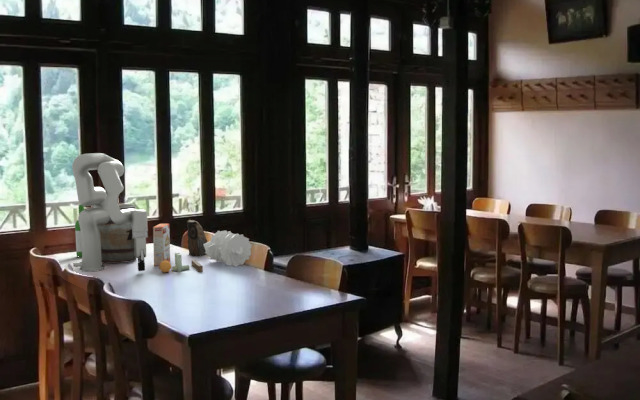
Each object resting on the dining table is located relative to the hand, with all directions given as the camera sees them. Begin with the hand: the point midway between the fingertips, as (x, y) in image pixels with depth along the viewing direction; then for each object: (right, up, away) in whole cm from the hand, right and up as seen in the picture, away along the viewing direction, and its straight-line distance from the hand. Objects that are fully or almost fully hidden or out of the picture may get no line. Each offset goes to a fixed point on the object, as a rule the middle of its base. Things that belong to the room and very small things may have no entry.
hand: (141, 270), depth 346 cm
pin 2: (+18, -1, +5) cm, 19 cm away
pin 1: (+16, 0, +9) cm, 19 cm away
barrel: (-23, +2, +33) cm, 40 cm away
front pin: (+14, 0, +6) cm, 15 cm away
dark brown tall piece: (+20, +4, +51) cm, 55 cm away
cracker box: (+5, +1, +26) cm, 26 cm away
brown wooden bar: (+26, 0, +11) cm, 28 cm away
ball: (+11, +2, +2) cm, 12 cm away
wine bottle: (-46, +3, +48) cm, 67 cm away
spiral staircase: (+41, +1, +22) cm, 46 cm away
